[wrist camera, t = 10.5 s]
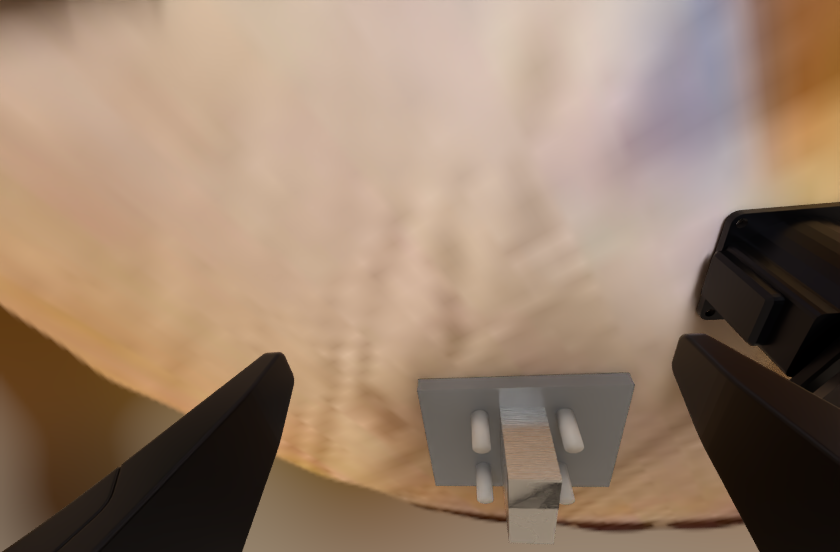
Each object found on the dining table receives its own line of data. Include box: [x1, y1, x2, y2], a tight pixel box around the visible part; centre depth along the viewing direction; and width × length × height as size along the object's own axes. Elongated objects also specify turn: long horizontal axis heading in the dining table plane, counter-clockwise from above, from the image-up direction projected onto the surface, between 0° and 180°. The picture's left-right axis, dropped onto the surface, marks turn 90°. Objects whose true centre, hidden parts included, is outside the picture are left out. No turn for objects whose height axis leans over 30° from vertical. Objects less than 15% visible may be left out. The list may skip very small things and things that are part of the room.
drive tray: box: [417, 373, 635, 505], centre depth 28 cm, size 14×12×4 cm
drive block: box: [500, 407, 562, 544], centre depth 26 cm, size 3×8×5 cm, turn 8°
